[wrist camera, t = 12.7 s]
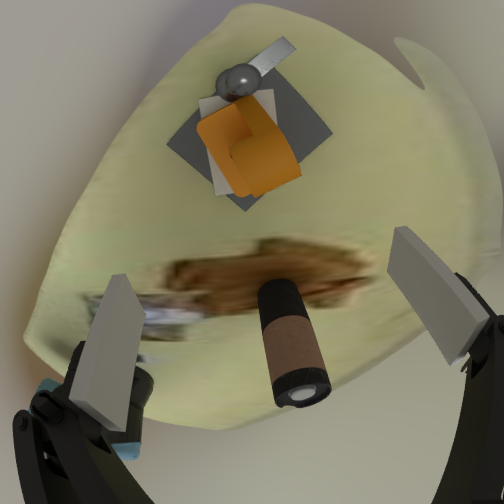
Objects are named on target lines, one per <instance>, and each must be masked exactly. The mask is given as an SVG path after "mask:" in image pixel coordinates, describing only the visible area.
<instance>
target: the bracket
mask: <svg viewBox="0 0 504 504" xmlns="http://www.w3.org/2000/svg"><path fill="white" fill-rule="evenodd" d="M197 132H198V134H199V136H200V137H201V139H202V141H203V142H204V144H205V145H206V147H207V149H208V150H209V152H210V154H211V155H212V157H213V159H214V160H215V162H216V164H217V165H218V167H219V169H220V170H221V172H222V173H223V175H224V177H225V178H226V180H227V182H228V183H229V185H230V187H231V188H232V190H233V192H234V193H235V195H236V196H238V197H245V196H247V195H249V194H251V193H252V195H253V196H254V197H255V198H256V197H259V196H261V195H263V194H265V193H267V192H269V191H271V190H273V189H275V188H277V187H279V186H281V185H283V184H285V183H287V182H289V181H291V180H293V179H296V178H298V177H300V176H301V170H300V167H299V165H298V162H297V160H296V158H295V155H294V153H293V151H292V149H291V147H290V145H289V144H288V142H287V140H286V138H285V137H284V135H283V133H282V132H281V130H280V129H279V128H278V126H277V125H276V124H275V122H274V121H273V120H272V118H271V117H270V116H269V115H268V113H267V112H266V111H265V110H264V108H263V107H262V106H261V105H260V103H259V102H258V101H257V100H256V98H255V97H254V96H253V95H252V94H251V95H248V96H244V97H242V98H240V99H238V100H236V101H234V102H232V103H230V104H228V105H226V106H224V107H222V108H220V109H219V110H217V111H215V112H213V113H211V114H209V115H207V116H206V117H204V118H202V119H201V120H200V121H199V122H198V124H197Z"/></svg>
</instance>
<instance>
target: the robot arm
mask: <svg viewBox="0 0 504 504" xmlns="http://www.w3.org/2000/svg"><path fill="white" fill-rule="evenodd" d="M387 272H388V274H389V275H390V276H391V278H392V279H393V281H394V282H395V283H396V285H397V286H398V287H399V289H400V290H401V292H402V293H403V294H404V296H405V297H406V299H407V300H408V301H409V303H410V304H411V306H412V307H413V309H414V310H415V312H416V313H417V315H418V316H419V318H420V319H421V321H422V322H423V324H424V325H425V327H426V328H427V330H428V331H429V333H430V335H431V336H432V338H433V339H434V341H435V343H436V344H437V346H438V347H439V349H440V350H441V352H442V354H443V356H444V357H445V359H446V361H447V363H448V364H449V366H452V365H454V364H456V363H458V362H459V361H461V360H462V359H463V358H464V356H465V355H466V354H467V352H469V354H470V357H469V359H468V360H467V362H466V363H465V364H464V366H463V367H462V369H461V372H463V371H464V370H465V368H466V367H467V371H466V372H465V373H467V375H466V383H465V391H464V397H463V402H462V407H461V413H460V417H459V422H458V427H457V431H456V435H455V438H454V442H453V446H452V449H451V452H450V456H449V459H448V462H447V465H446V468H445V471H444V474H443V476H442V479H441V482H440V484H439V487H438V489H437V492H436V494H435V497H434V499H433V501H432V503H431V504H504V493H503V500H502V499H501V494H502V490H503V487H504V315H499V316H497V315H496V314H495V313H494V312H493V310H492V309H491V308H490V307H489V306H488V304H487V303H486V302H485V300H484V299H483V298H482V297H481V296H480V294H479V293H477V291H476V290H475V289H474V287H473V288H472V285H471V284H470V283H469V282H468V281H467V279H466V278H464V277H463V276H461V275H460V274H458V273H457V272H456V273H453V272H452V271H451V270H450V269H449V267H448V266H447V265H446V264H445V263H444V262H443V261H442V260H441V259H440V258H439V257H438V256H437V255H436V254H435V253H434V252H433V251H432V250H431V249H430V248H429V247H428V246H427V245H426V244H425V243H424V242H423V241H422V240H421V239H420V238H419V237H418V236H417V235H416V234H415V233H414V232H413V231H412V230H411V229H410V228H408V227H407V226H401V227H395V229H394V235H393V241H392V247H391V253H390V258H389V263H388V268H387ZM145 316H146V313H145V312H144V310H143V308H142V306H141V304H140V302H139V300H138V298H137V296H136V294H135V292H134V290H133V288H132V286H131V284H130V282H129V280H128V278H127V276H126V274H119V275H113V276H112V277H111V279H110V281H109V284H108V286H107V288H106V291H105V293H104V295H103V298H102V300H101V303H100V305H99V308H98V310H97V313H96V315H95V318H94V321H93V323H92V326H91V329H90V331H89V334H88V337H87V340H86V341H81V342H80V343H79V344H78V346H77V347H76V349H75V350H74V352H73V355H72V358H71V363H70V364H69V367H68V371H67V373H66V377H65V380H64V383H63V384H62V383H59V382H57V381H55V380H53V379H51V378H45V379H44V380H43V381H42V382H41V383H40V385H39V387H38V389H37V391H36V393H35V395H34V397H33V399H32V401H31V404H30V407H29V410H28V411H27V410H20V411H18V412H17V413H16V415H15V416H14V419H13V439H14V448H15V456H16V463H17V469H18V474H19V480H20V485H21V489H22V493H23V497H24V501H25V504H154V502H153V501H152V500H151V499H150V498H149V497H148V495H147V494H146V493H145V492H144V491H143V489H142V488H141V487H140V485H139V484H138V483H137V481H136V480H135V479H134V478H133V476H132V475H131V473H130V472H129V471H128V469H127V468H126V466H125V465H124V464H123V462H122V461H121V460H135V459H137V458H138V457H139V453H140V446H141V434H142V421H143V411H144V407H145V405H146V403H147V401H148V399H149V397H150V395H151V393H152V391H153V384H154V382H153V379H152V378H151V376H150V375H149V374H148V373H146V372H145V371H143V370H142V369H140V368H138V367H136V366H135V364H136V359H137V354H138V348H139V343H140V339H141V334H142V329H143V325H144V320H145Z"/></svg>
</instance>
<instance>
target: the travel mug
mask: <svg viewBox="0 0 504 504" xmlns="http://www.w3.org/2000/svg"><path fill="white" fill-rule="evenodd" d="M258 306H259V313H260V321H261V329H262V336H263V342H264V347H265V353H266V358H267V363H268V369H269V374H270V379H271V385H272V390H273V395H274V400H275V404H276V405H277V406H278V407H280V408H282V407H283V406H286V405H289V406H295V407H296V408H303V407H307V406H311V405H314V404H316V403H318V402H320V401H322V400H323V399H325V398H326V397H327V396H329V394H330V393H331V390H332V388H331V384H330V381H329V377H328V374H327V371H326V368H325V364H324V361H323V358H322V355H321V352H320V349H319V345H318V342H317V339H316V336H315V333H314V330H313V327H312V324H311V321H310V319H309V316H308V314H307V311H306V309H305V306H304V303H303V301H302V298H301V296H300V293H299V291H298V289H297V287H296V285H295V284H294V283H293V282H291V281H289V280H286V279H276V280H272V281H270V282H268V283H266V284H265V285H263V286H262V287H261V289H260V290H259V293H258Z"/></svg>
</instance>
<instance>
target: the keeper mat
mask: <svg viewBox="0 0 504 504" xmlns="http://www.w3.org/2000/svg"><path fill="white" fill-rule="evenodd" d="M258 55H259V54H258ZM253 59H254V58H253ZM253 59H252V60H253ZM247 64H248V63H247ZM252 95H253V96H254V97H255V98H256V100H257V101H258V102H259V103H260V105H261V106H262V107H263V108H264V110H265V111H266V112H267V113H268V115H269V116H270V117H271V118H272V120H273V121H274V122H275V124H276V125H277V126H278V128H279V129H280V130H281V132H282V133H283V135H284V137H285V138H286V140H287V142H288V144H289V145H290V147H291V149H292V151H293V153H294V155H295V158H296V160H297V162H298V163H299V162H301V161H302V160H303V159H304V158H305V157H306V156H307V155H309V154H310V153H311V152H312V151H313V150H314V149H315V148H317V147H318V146H319V145H320V144H321V143H322V142H324V141H325V140H326V139H327V138H328V137H329V136H330V135H332V134H333V133H332V132H331V130H330V129H329V128H328V127H327V125H326V124H325V123H324V122H323V121H322V119H321V118H320V117H319V116H318V115H317V114H316V112H315V111H314V110H313V109H312V108H311V107H310V105H309V104H308V103H307V102H306V101H305V100H304V99H303V98H302V96H301V95H300V94H299V93H298V92H297V91H296V90H295V89H294V88H293V87H292V86H291V85H290V84H289V83H288V82H287V81H286V79H285V78H284V77H283V76H282V75H281V74H280V73H279V72H278V71H277V70H276V69H275V68H274V67H273V68H272V69H271V70H270V71H268V72H267V73H266V74H265V75H264V76H262V83H261V86H260V88H259V89H258V90H257V91H256V92H255V93H253V94H252ZM198 102H199V109H198V110H197V111H196V112H195V113H194V114H193V115H192V116H191V118H190V119H189V120H188V121H187V122H186V123H185V124H184V125H183V126H182V127H181V128H180V129H179V131H178V132H177V133H176V134H175V135H174V136H173V137H172V138H171V140H170V141H169V142H168V143H167V144H166V145H167V146H169V147H170V148H171V149H172V150H174V151H175V152H176V153H177V154H178V155H180V156H181V157H182V158H183V159H184V160H185V161H187V162H188V163H189V164H190V165H191V166H193V167H194V168H195V169H196V170H197V171H199V172H200V173H201V174H202V175H203V176H204V177H206V178H207V179H208V180H209V181H210V182H211V183H213V184H214V189H215V194H216V196H220V195H227V196H228V197H229V198H230V199H231V200H232V201H233V202H235V203H236V204H237V205H238V206H239V207H240V208H242V209H243V210H244V211H247V210H248V209H249V208H250V207H251V206H252V205H253V204H254V203H255V202H256V201H257V200H258V199H260V198H261V197H262V196H263V195H264V194H263V195H261V196H259V197H256V198H255V197H254V196H253V195H252V193H251V194H249V195H247V196H245V197H238V196H236V195H235V193H234V192H233V190H232V188H231V187H230V185H229V183H228V182H227V180H226V178H225V177H224V175H223V173H222V172H221V170H220V169H219V167H218V165H217V164H216V162H215V160H214V159H213V157H212V155H211V154H210V152H209V150H208V149H207V147H206V145H205V144H204V142H203V141H202V139H201V137H200V136H199V134H198V132H197V124H198V122H199V121H200V120H201V119H202V118H204V117H206V116H207V115H209V114H211V113H213V112H215V111H217V110H219V109H220V108H222V107H224V106H226V105H228V104H230V103H232V102H227V101H225V100H223V99H222V98H221V97H220V96H219V95H218V93H217V91H216V92H215V93H214V94H213V95H212V96H211V97H208V98H203V99H198ZM281 186H283V185H281Z"/></svg>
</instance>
